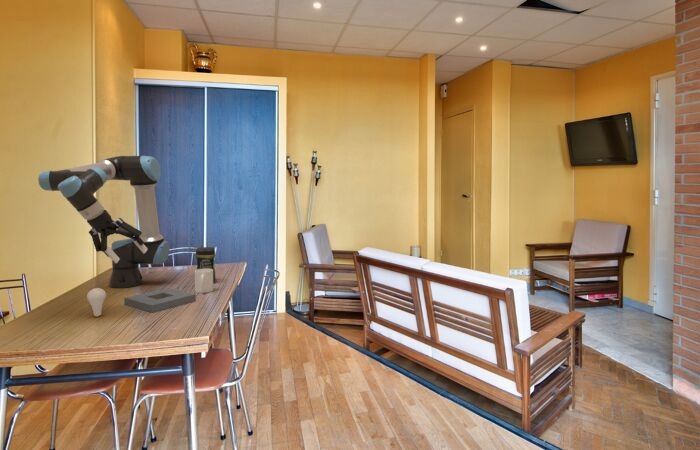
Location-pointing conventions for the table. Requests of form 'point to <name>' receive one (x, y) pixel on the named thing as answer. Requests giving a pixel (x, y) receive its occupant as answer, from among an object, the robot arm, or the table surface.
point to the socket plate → (159, 300)
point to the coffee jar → (206, 259)
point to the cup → (203, 280)
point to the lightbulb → (96, 300)
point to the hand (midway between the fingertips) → (131, 256)
